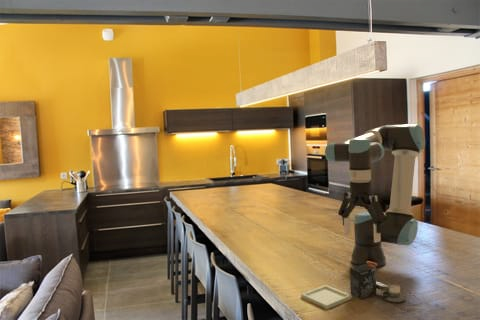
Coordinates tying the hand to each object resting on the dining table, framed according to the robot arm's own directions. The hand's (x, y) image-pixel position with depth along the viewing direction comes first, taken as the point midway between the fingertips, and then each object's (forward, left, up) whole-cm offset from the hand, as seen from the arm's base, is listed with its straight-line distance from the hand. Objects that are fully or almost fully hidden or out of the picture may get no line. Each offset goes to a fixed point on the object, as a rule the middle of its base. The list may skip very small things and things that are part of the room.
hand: (361, 238), depth 149 cm
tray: (-7, -12, -22) cm, 26 cm away
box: (0, 0, -22) cm, 22 cm away
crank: (+5, +5, -20) cm, 22 cm away
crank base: (+9, +6, -22) cm, 24 cm away
